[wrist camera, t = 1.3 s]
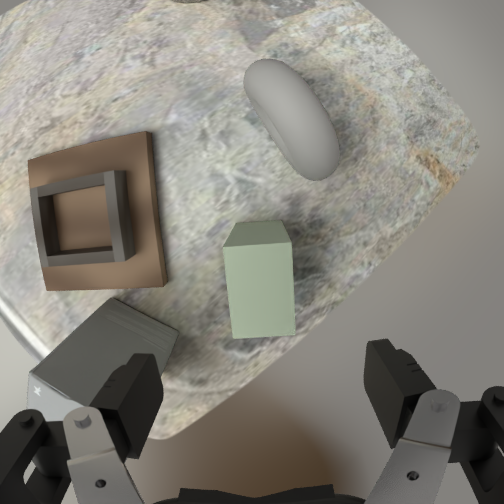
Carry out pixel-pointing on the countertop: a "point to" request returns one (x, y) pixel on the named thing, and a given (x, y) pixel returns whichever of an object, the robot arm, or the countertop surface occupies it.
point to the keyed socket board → (98, 215)
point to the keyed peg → (260, 280)
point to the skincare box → (95, 358)
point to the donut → (293, 118)
